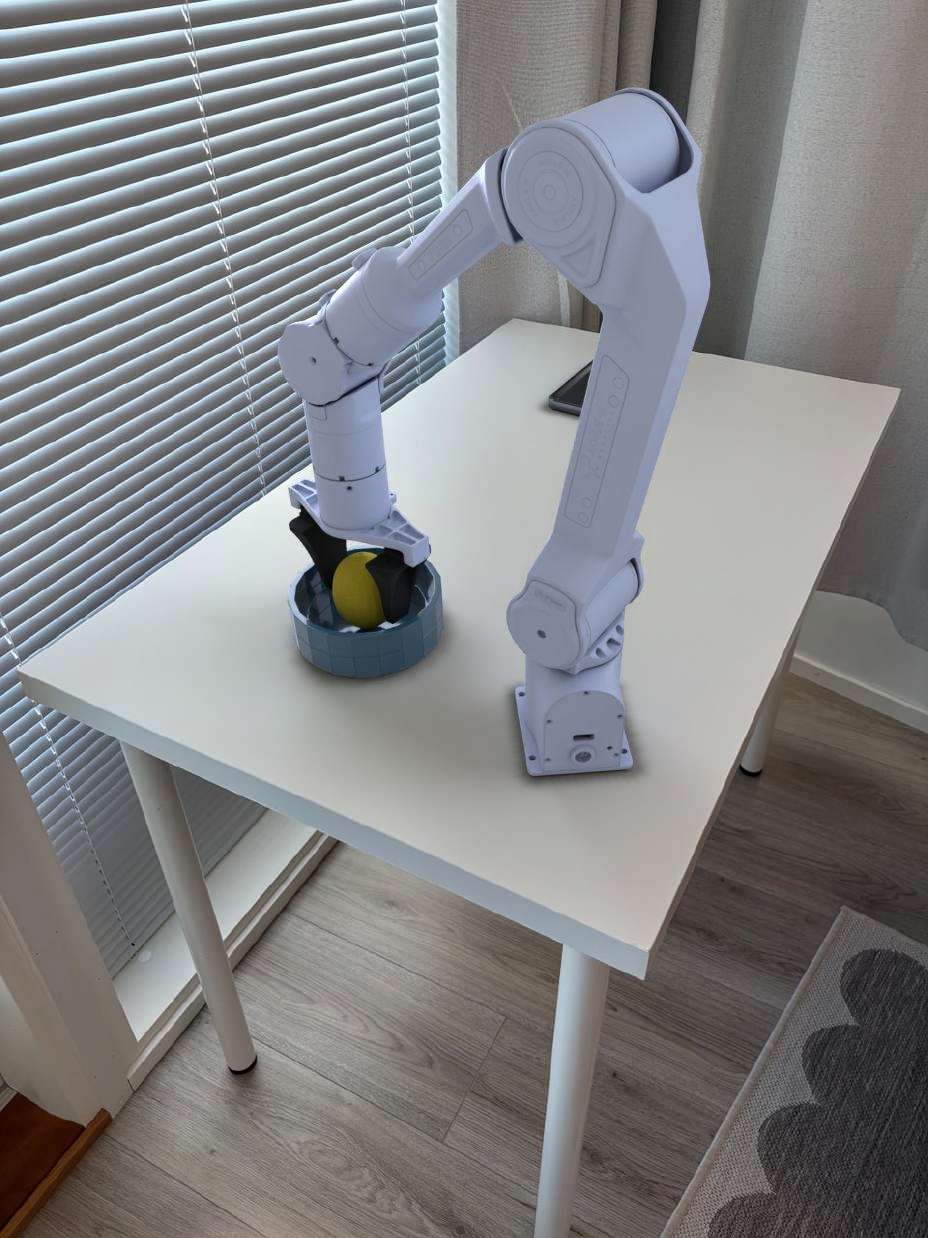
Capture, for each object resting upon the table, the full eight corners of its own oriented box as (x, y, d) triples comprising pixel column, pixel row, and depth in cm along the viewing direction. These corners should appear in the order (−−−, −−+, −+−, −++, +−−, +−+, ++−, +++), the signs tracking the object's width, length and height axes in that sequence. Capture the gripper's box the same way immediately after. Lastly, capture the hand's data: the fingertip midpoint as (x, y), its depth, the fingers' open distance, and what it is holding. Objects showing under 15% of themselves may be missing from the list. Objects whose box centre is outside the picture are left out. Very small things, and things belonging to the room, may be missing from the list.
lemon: (391, 650, 82) (383, 576, 77) (330, 643, 83) (318, 569, 78) (406, 610, 86) (400, 538, 81) (348, 604, 87) (338, 532, 82)
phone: (545, 399, 117) (599, 354, 127) (545, 407, 118) (598, 361, 127) (603, 413, 114) (654, 365, 123) (602, 421, 114) (653, 373, 124)
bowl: (447, 676, 80) (445, 631, 77) (291, 687, 80) (282, 642, 77) (440, 583, 91) (437, 540, 87) (301, 592, 90) (293, 549, 87)
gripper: (452, 471, 73) (459, 609, 81) (324, 417, 80) (342, 549, 89) (387, 510, 69) (401, 651, 77) (259, 450, 76) (285, 585, 85)
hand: (366, 599), depth 83 cm, fingers open, 7 cm apart
